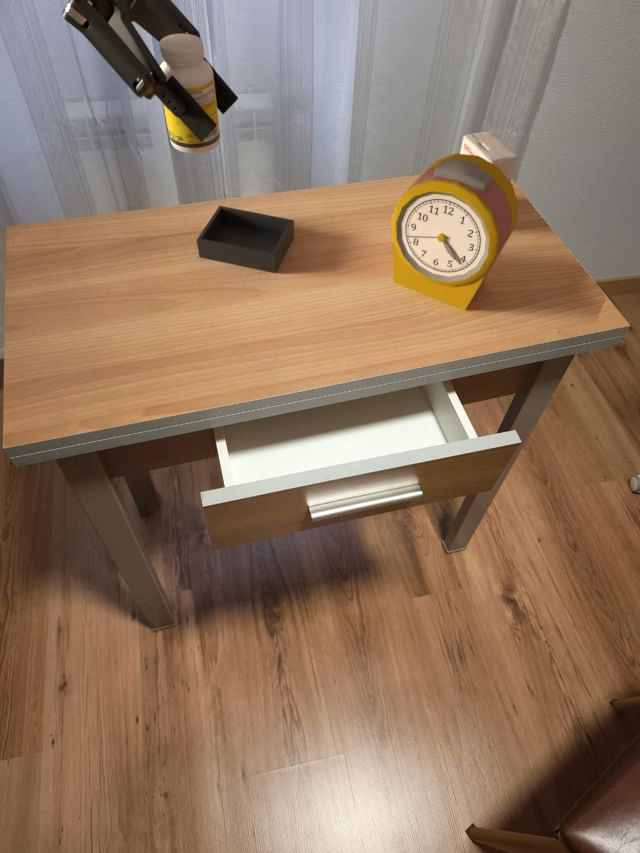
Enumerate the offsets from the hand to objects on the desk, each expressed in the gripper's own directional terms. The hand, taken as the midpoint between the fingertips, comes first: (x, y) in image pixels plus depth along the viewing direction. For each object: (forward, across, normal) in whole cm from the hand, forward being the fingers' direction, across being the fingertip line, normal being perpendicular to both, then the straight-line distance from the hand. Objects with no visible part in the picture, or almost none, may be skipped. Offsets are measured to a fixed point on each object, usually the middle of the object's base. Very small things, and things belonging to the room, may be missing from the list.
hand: (220, 119), depth 67 cm
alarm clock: (+36, -6, +5) cm, 37 cm away
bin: (+15, -5, -15) cm, 22 cm away
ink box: (+38, -25, +7) cm, 46 cm away
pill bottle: (0, 0, -5) cm, 5 cm away
